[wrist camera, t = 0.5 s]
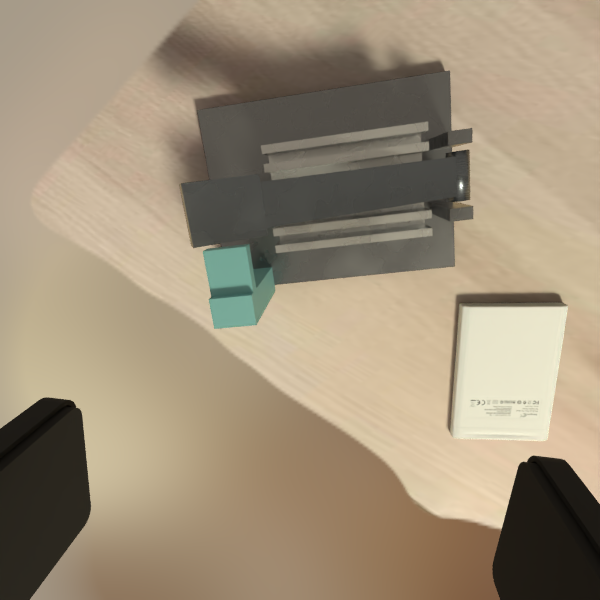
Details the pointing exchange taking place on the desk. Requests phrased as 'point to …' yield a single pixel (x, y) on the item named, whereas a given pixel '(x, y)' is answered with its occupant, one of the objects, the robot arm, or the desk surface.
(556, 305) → the external hard drive
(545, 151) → the desk surface
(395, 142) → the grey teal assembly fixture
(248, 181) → the dark grey flat bar
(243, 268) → the clip
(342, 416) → the desk surface
